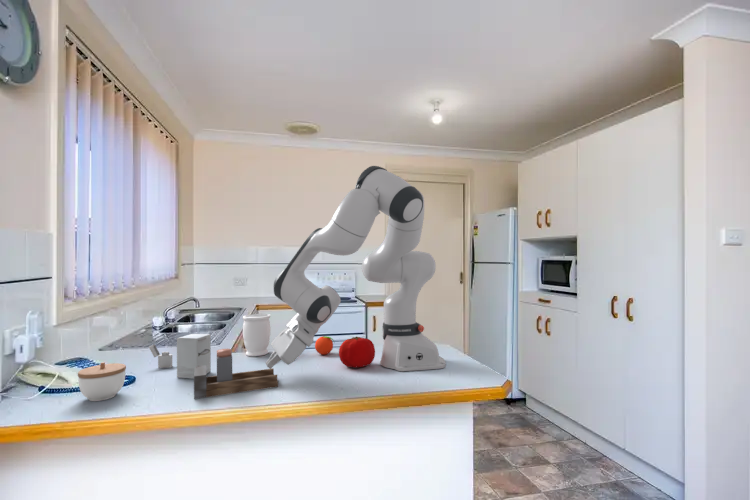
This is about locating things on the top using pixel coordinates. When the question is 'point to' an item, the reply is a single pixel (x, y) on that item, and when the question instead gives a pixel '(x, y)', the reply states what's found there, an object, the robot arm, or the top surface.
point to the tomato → (357, 352)
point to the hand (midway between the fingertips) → (267, 366)
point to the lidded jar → (101, 381)
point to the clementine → (324, 345)
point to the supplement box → (193, 354)
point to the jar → (256, 334)
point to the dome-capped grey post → (224, 365)
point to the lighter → (162, 357)
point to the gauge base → (232, 382)
